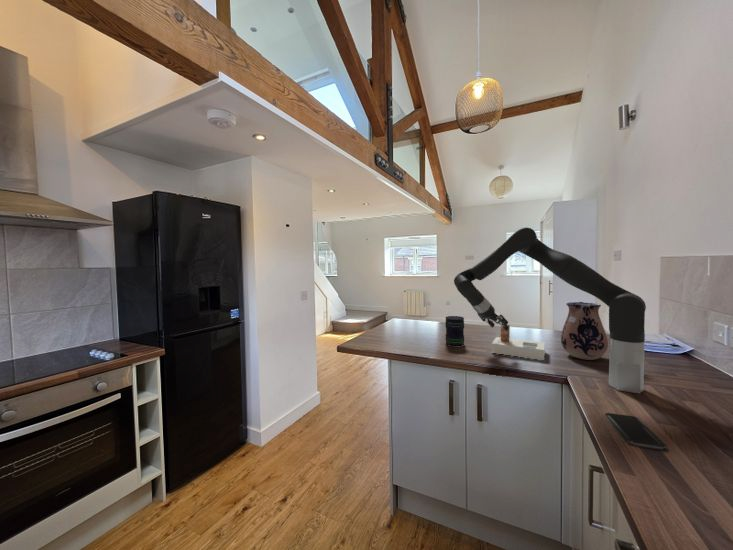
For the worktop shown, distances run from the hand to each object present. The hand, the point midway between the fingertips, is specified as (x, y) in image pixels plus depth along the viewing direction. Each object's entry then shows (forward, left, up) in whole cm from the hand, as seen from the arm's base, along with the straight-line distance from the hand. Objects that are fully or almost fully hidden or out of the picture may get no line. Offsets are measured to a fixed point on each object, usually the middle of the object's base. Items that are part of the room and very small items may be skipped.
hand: (500, 327), depth 146 cm
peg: (+3, -2, -7) cm, 8 cm away
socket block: (+3, -8, -12) cm, 15 cm away
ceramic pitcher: (+12, -34, -13) cm, 38 cm away
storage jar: (+3, +23, -13) cm, 26 cm away
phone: (-56, -40, -13) cm, 70 cm away
